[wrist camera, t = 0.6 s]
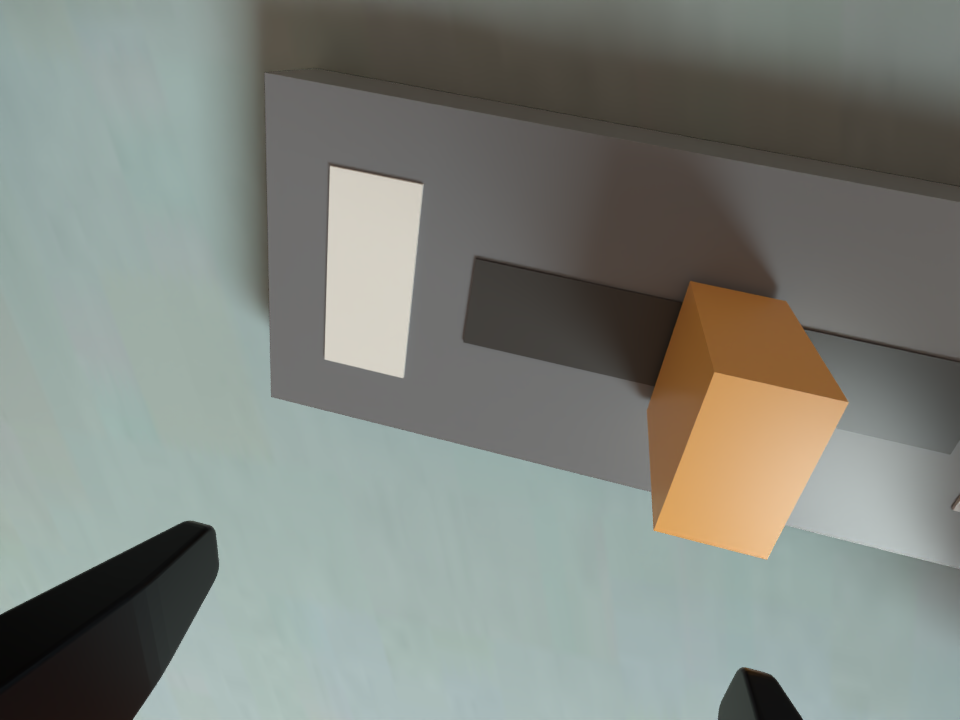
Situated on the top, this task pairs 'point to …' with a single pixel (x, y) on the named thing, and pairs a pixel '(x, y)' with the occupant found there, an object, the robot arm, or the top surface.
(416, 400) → the panel
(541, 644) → the top surface
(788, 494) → the handle
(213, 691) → the top surface
